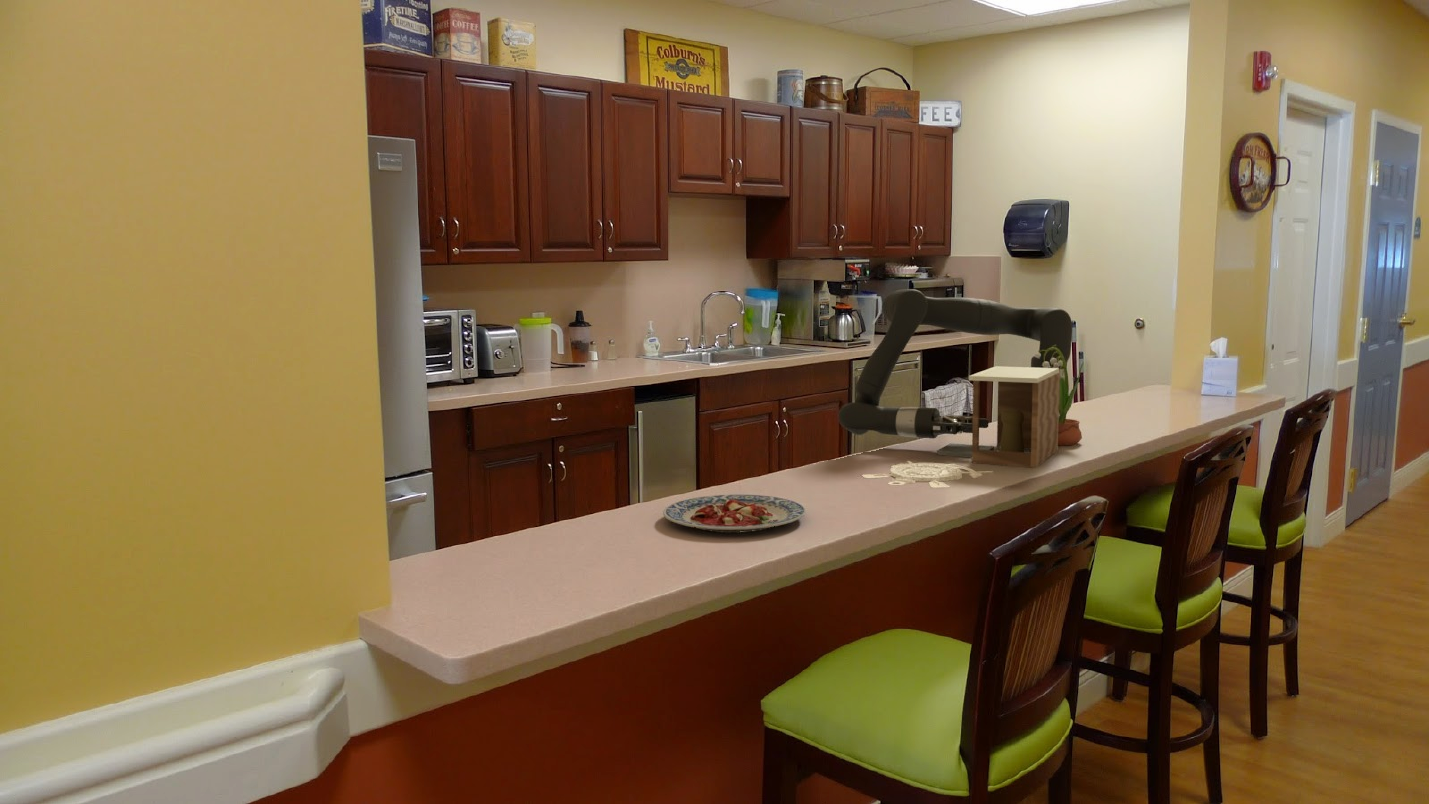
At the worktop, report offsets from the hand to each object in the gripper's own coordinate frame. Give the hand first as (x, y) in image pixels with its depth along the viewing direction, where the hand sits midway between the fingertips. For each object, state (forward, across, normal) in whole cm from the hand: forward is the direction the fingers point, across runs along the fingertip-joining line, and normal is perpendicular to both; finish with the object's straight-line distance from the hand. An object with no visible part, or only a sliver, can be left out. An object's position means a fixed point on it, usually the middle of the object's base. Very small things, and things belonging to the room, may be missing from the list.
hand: (983, 426), depth 245 cm
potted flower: (+13, +22, +7) cm, 26 cm away
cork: (+7, 0, +7) cm, 10 cm away
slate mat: (-4, 0, +7) cm, 8 cm away
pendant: (-5, -29, +8) cm, 30 cm away
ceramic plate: (-23, -83, +7) cm, 87 cm away
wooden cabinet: (+8, 0, +7) cm, 10 cm away
